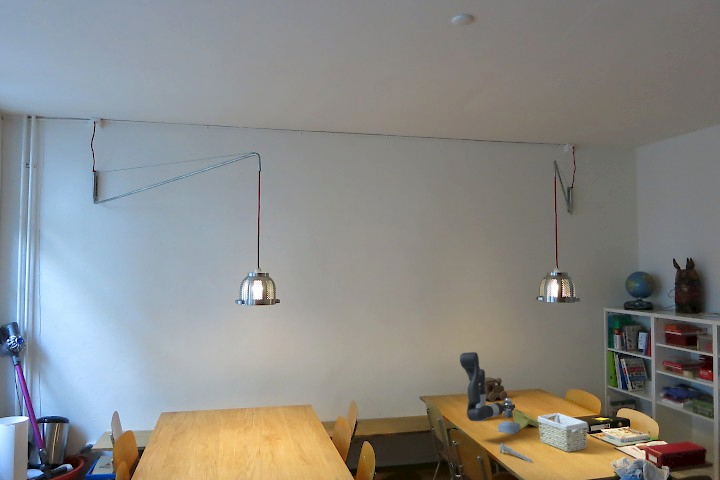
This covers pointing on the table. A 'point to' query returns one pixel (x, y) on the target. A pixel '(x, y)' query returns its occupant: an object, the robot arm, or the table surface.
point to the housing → (506, 402)
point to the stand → (509, 427)
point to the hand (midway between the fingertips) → (510, 405)
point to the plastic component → (524, 419)
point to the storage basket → (563, 432)
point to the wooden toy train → (494, 389)
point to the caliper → (512, 452)
